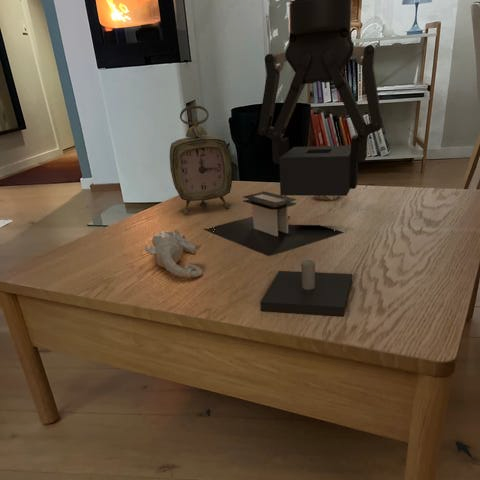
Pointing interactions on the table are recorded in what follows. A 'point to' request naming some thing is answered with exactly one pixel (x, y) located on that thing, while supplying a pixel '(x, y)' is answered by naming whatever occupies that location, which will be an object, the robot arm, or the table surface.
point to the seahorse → (173, 253)
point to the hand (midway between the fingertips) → (318, 186)
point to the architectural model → (271, 226)
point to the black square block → (316, 171)
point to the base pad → (308, 292)
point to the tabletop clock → (200, 165)
